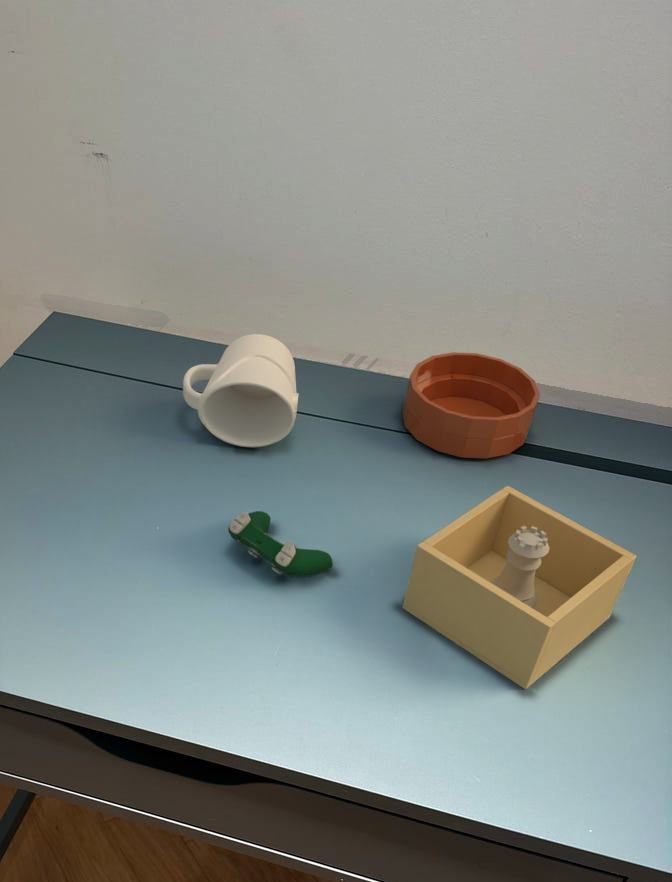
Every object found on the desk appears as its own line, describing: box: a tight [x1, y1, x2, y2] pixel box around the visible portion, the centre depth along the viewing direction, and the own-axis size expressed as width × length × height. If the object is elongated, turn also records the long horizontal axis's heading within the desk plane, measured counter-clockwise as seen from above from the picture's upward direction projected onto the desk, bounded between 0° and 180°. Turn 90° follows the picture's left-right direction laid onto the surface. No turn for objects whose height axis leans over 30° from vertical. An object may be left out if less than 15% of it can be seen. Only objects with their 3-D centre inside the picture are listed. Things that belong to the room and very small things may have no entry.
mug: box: [182, 333, 299, 448], centre depth 102 cm, size 12×9×8 cm
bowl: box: [402, 351, 541, 459], centre depth 104 cm, size 13×13×5 cm
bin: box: [401, 485, 637, 690], centre depth 83 cm, size 13×13×7 cm
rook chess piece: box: [490, 526, 549, 610], centre depth 82 cm, size 4×4×8 cm
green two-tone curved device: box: [227, 510, 334, 578], centre depth 89 cm, size 9×4×6 cm
